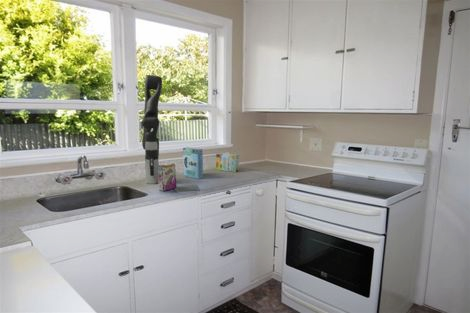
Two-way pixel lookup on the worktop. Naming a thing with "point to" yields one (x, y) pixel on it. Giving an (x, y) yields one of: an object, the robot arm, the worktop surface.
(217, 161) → the snack box
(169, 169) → the candy bar box
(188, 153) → the gum box
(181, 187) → the mat
